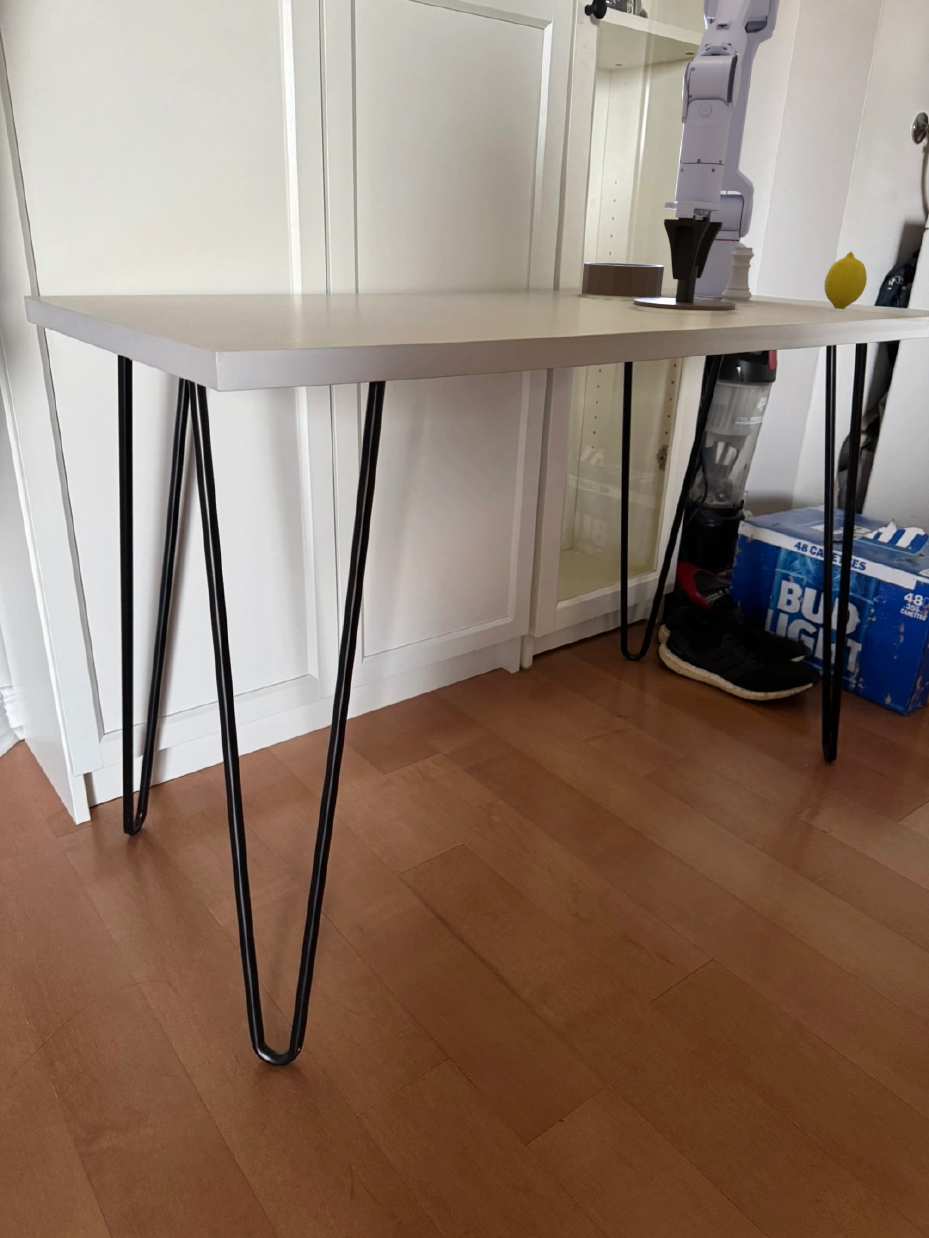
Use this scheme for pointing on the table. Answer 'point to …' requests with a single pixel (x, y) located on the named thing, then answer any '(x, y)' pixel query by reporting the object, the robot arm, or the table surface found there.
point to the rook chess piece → (739, 277)
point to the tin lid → (685, 298)
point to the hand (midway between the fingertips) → (687, 279)
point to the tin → (622, 279)
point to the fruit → (845, 281)
